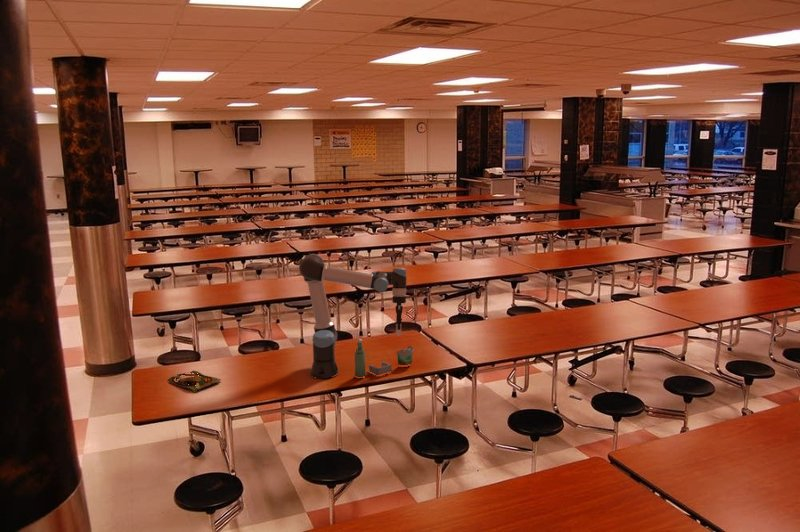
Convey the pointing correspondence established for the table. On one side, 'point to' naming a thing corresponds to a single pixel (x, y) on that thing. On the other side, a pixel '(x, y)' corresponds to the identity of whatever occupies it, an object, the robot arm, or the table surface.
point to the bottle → (359, 360)
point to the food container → (405, 356)
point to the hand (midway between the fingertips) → (398, 333)
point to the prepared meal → (194, 381)
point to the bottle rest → (381, 370)
